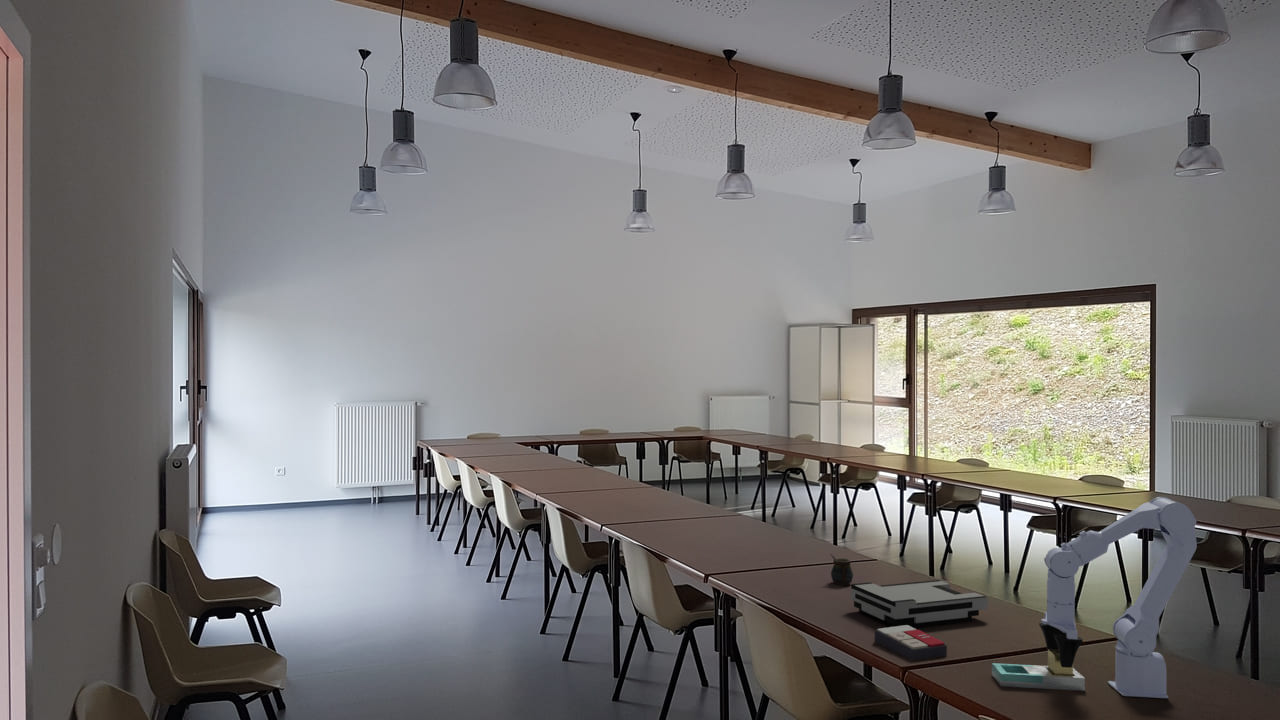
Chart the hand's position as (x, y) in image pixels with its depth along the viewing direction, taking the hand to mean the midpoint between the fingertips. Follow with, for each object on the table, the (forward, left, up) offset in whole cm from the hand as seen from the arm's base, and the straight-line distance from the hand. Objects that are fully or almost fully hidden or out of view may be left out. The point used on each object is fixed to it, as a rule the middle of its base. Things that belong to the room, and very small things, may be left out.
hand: (1059, 661), depth 192 cm
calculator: (+29, -20, -6) cm, 36 cm away
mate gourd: (+39, -85, -6) cm, 94 cm away
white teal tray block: (+5, 0, -5) cm, 7 cm away
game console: (+21, -51, -6) cm, 55 cm away
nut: (0, 0, -4) cm, 4 cm away
